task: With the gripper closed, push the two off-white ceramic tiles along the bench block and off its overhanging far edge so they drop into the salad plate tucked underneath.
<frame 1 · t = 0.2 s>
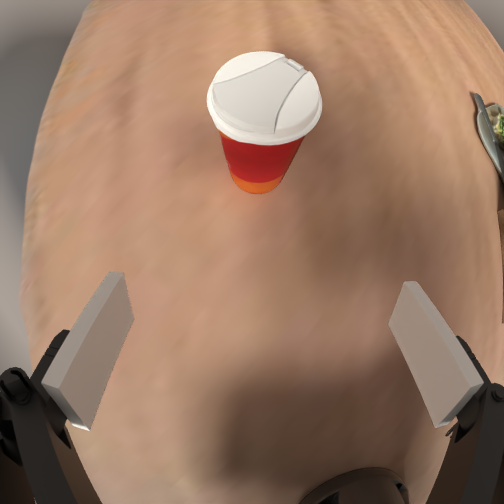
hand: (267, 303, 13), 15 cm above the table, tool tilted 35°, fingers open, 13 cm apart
paper cup: (256, 170, 30), on the table
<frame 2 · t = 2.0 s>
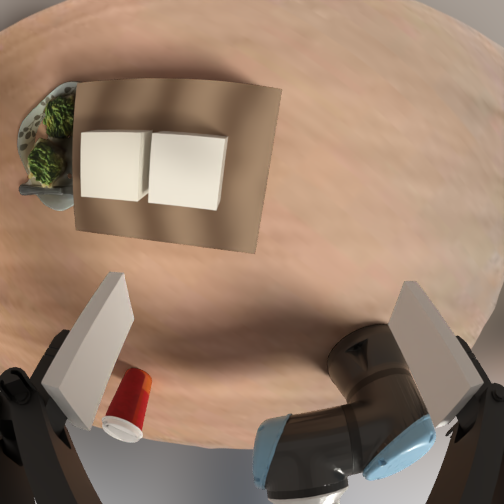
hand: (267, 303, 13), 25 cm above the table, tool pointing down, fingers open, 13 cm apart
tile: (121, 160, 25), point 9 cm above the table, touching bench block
bench block: (182, 151, 33), on the table
salad plate: (70, 146, 33), on the table
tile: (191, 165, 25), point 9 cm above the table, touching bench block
paper cup: (139, 376, 52), on the table
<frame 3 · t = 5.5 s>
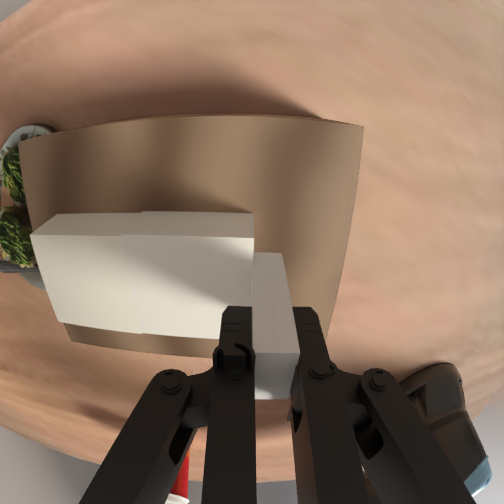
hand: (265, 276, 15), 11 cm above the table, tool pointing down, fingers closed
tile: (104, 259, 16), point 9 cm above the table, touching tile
bench block: (196, 208, 24), on the table
salad plate: (44, 210, 25), on the table
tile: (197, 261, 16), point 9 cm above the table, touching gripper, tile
paper cup: (175, 437, 45), on the table
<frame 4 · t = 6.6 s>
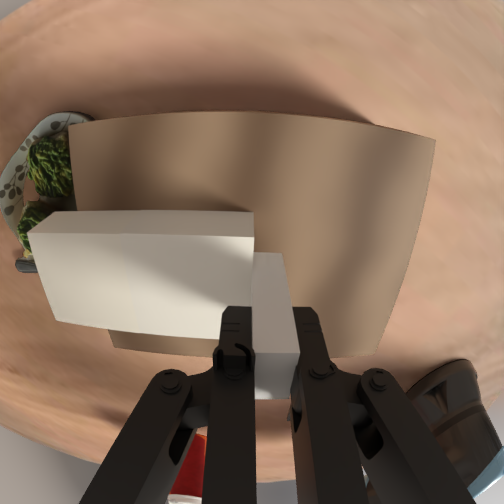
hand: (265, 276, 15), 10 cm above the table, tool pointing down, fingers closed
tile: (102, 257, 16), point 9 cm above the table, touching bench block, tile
bench block: (248, 207, 24), on the table
salad plate: (73, 205, 24), on the table
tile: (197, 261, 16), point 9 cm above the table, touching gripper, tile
paper cup: (196, 439, 44), on the table
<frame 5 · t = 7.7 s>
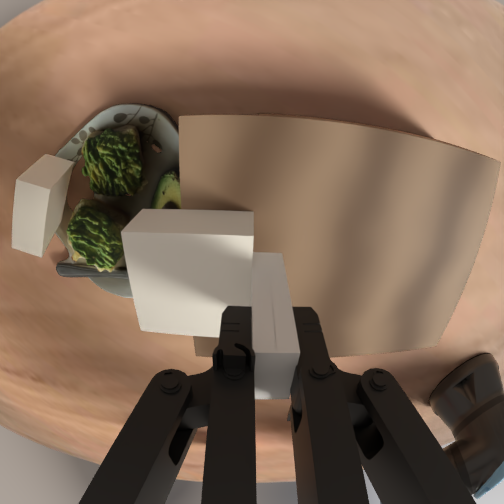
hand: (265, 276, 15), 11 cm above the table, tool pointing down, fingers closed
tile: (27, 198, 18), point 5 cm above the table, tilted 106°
bench block: (323, 212, 25), on the table
salad plate: (133, 205, 25), on the table
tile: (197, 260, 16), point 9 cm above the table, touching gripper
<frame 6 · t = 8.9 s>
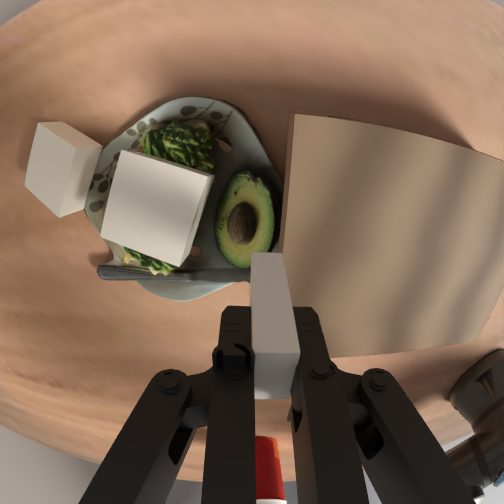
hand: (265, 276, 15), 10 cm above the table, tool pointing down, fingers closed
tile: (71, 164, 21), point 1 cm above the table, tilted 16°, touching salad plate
bench block: (381, 215, 24), on the table
salad plate: (191, 205, 25), on the table, touching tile, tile
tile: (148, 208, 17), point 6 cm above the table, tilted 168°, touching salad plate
paper cup: (261, 441, 45), on the table
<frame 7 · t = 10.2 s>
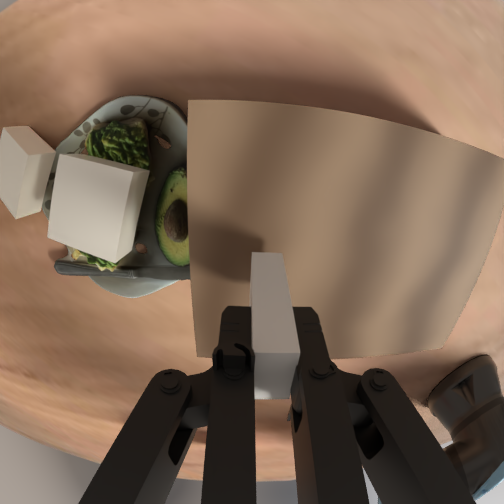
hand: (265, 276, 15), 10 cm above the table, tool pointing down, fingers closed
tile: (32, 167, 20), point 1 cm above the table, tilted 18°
bench block: (331, 208, 24), on the table
salad plate: (137, 202, 24), on the table
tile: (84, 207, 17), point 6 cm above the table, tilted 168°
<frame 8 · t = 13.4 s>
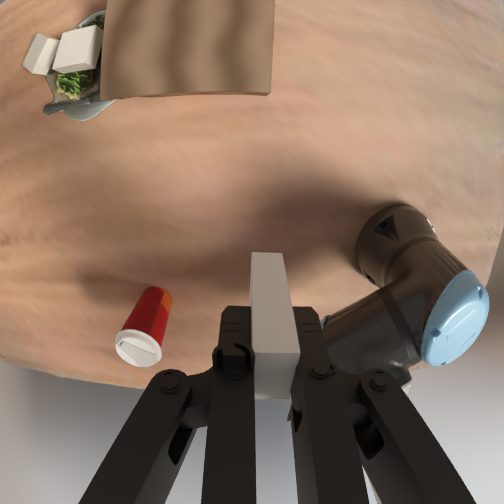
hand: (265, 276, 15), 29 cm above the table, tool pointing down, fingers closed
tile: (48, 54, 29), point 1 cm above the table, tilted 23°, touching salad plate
bench block: (196, 43, 32), on the table
salad plate: (98, 64, 33), on the table, touching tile, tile
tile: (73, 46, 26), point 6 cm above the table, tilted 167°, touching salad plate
paper cup: (157, 298, 52), on the table
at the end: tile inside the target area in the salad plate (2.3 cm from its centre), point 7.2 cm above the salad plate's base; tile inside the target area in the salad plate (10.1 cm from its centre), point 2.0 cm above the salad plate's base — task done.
